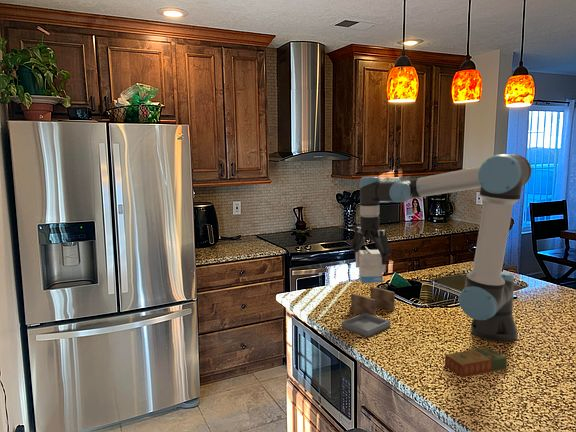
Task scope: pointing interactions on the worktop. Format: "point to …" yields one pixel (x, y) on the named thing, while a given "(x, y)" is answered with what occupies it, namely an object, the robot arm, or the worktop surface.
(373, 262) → the ink box
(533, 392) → the worktop surface
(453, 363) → the carton
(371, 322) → the tray
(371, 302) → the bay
